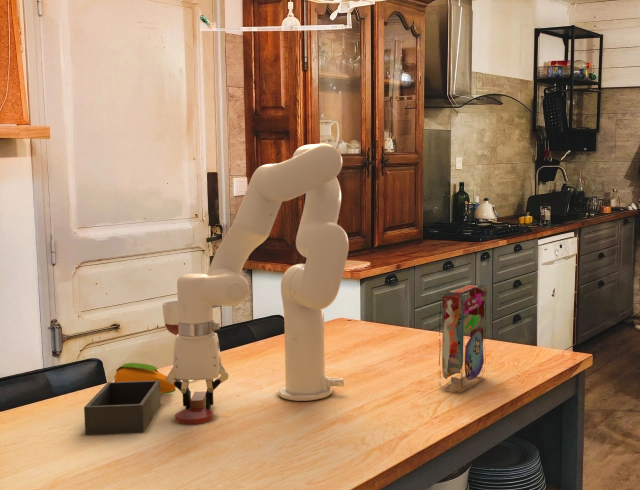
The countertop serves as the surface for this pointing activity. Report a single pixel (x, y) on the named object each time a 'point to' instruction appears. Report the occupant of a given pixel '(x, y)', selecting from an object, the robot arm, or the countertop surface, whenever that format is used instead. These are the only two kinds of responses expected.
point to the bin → (122, 407)
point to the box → (454, 333)
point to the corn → (143, 375)
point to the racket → (195, 411)
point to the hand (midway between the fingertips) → (198, 407)
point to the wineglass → (171, 318)
